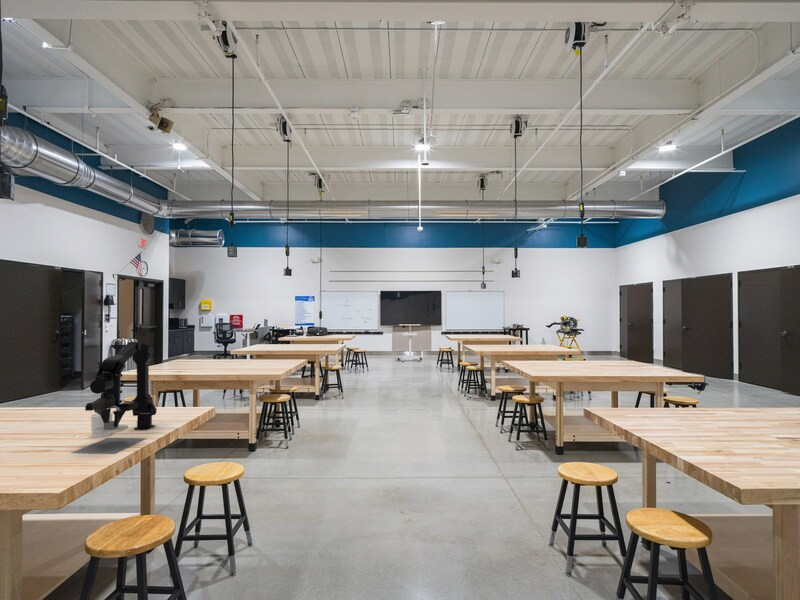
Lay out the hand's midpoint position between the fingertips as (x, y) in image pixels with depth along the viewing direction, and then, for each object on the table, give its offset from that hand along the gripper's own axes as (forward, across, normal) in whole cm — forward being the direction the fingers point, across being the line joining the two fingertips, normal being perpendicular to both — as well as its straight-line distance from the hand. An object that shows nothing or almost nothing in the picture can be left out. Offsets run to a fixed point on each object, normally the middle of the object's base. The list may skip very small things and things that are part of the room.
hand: (111, 426), depth 177 cm
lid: (+1, 0, 0) cm, 1 cm away
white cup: (+8, -14, +13) cm, 21 cm away
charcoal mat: (+8, 0, 0) cm, 8 cm away
